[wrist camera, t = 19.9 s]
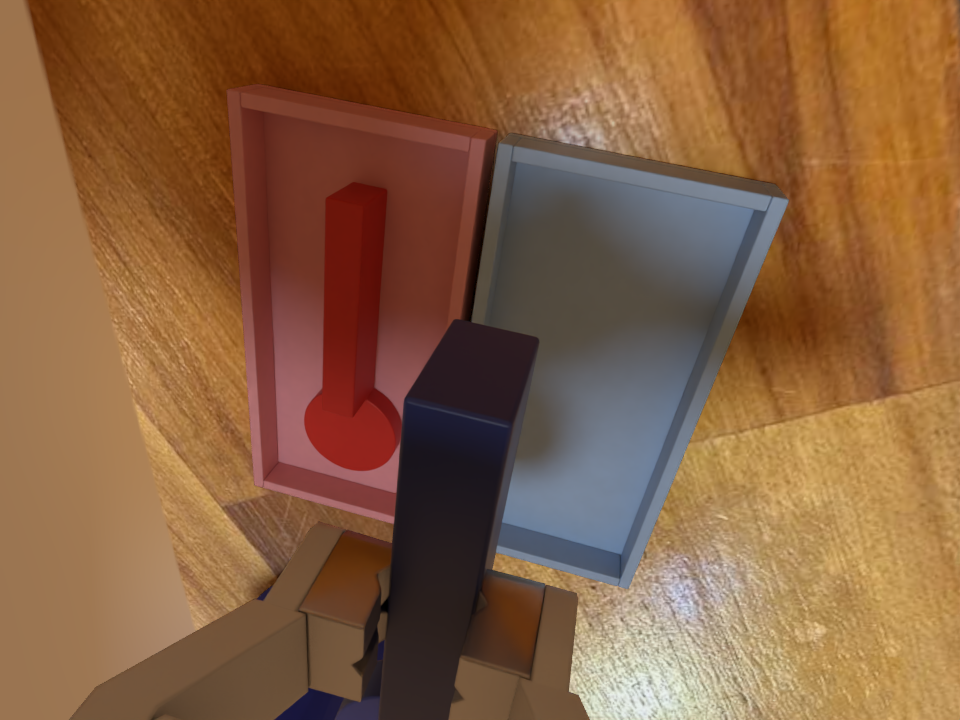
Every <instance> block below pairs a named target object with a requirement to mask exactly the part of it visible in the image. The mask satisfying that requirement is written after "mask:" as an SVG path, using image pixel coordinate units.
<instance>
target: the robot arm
mask: <svg viewBox="0 0 960 720" xmlns="http://www.w3.org/2000/svg"><path fill="white" fill-rule="evenodd" d="M391 553H392V543H389V542H386V541H383V540H379V539H376V538H373V537H369V536H366V535H363V534H360V533H356V532H353V531H350V530H346V529H342V528H339V527H335V526H332V525H329V524H325V523H322V522H318V523H316V524H315V525H314V526H313V527H312V528H310V530H309V531H308V533H307V534H306V536H305V538H304V539H303V541H302V542H301V544H300V545H299V547H298V548H297V550H296V551H295V553H294V554H293V556H292V557H291V559H290V561H289V562H288V564H287V565H286V567H285V568H284V570H283V571H282V573H281V574H280V576H279V577H278V579H277V580H276V582H275V584H274V585H273V587H272V588H271V590H270V591H269V593H268V594H267V596H266V597H265V599H264V600H263V601H261V600H258V599H253V600H251V601H249V602H248V603H246V604H244V605H242V606H240V607H239V608H237V609H235V610H233V611H231V612H230V613H228V614H226V615H224V616H222V617H221V618H219V619H217V620H215V621H214V622H212V623H210V624H208V625H206V626H205V627H203V628H201V629H199V630H197V631H196V632H194V633H192V634H190V635H188V636H187V637H185V638H183V639H181V640H179V641H178V642H176V643H174V644H172V645H171V646H169V647H167V648H165V649H164V650H162V651H160V652H158V653H156V654H154V655H152V656H151V657H149V658H147V659H145V660H144V661H142V662H140V663H138V664H136V665H135V666H133V667H131V668H129V669H127V670H126V671H124V672H122V673H120V674H118V675H117V676H115V677H113V678H111V679H109V680H108V681H106V682H104V683H102V684H100V685H99V686H97V687H95V689H94V690H93V691H92V692H91V693H90V695H89V696H88V697H87V698H86V700H85V701H84V702H83V703H82V704H81V706H80V707H79V708H78V709H77V711H76V712H75V713H74V714H73V715H72V717H71V718H70V719H69V720H274V719H276V718H277V717H278V716H279V715H280V714H282V713H283V712H284V711H285V710H286V709H288V708H289V707H290V706H291V705H293V704H294V703H295V702H296V701H297V700H299V699H300V698H301V697H302V696H304V695H305V694H306V693H307V692H308V688H311V689H315V690H318V691H322V692H325V693H329V694H333V695H336V696H340V697H343V698H347V699H350V700H354V701H357V702H361V700H362V698H363V695H364V693H365V691H366V688H367V686H368V683H369V681H370V678H371V676H372V674H373V671H374V669H375V666H376V664H377V656H378V644H379V643H380V642H382V641H383V640H385V639H386V632H387V620H388V611H387V603H388V597H389V595H390V581H391ZM577 606H578V597H577V593H574V592H571V591H567V590H563V589H560V588H556V587H552V586H549V585H546V586H545V584H544V583H540V582H536V581H532V580H529V579H525V578H521V577H517V576H513V575H509V574H506V573H502V572H498V571H494V570H490V569H487V571H486V573H485V577H484V580H483V584H482V587H481V589H480V590H479V593H478V598H477V603H476V608H475V613H474V614H473V615H472V616H471V619H470V622H469V626H468V630H467V633H466V637H465V641H464V644H463V648H462V651H461V655H460V659H459V664H458V670H457V675H456V680H455V685H454V686H455V691H454V695H453V699H452V703H451V707H450V714H449V720H590V719H589V717H588V715H587V713H586V710H585V708H584V706H583V704H582V702H581V700H580V697H579V695H576V694H573V693H571V692H569V683H570V674H571V664H572V654H573V645H574V635H575V625H576V616H577Z"/></svg>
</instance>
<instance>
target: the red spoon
mask: <svg viewBox="0 0 960 720" xmlns="http://www.w3.org/2000/svg"><path fill="white" fill-rule="evenodd" d="M386 206H387V189H384V188H379V187H375V186H370V185H366V184H361V183H357V182H352V183H350V184H349V185H347V186H345V187H343V188H342V189H340V190H338V191H337V192H335V193H333V194H331V195H330V196H328V197H326V199H325V256H324V317H323V378H322V389H321V390H320V391H319V392H318V393H317V394H316V396H315V397H314V398H313V399H312V400H311V402H310V403H309V404H308V406H307V408H306V411H305V415H304V426H305V431H306V434H307V436H308V438H309V440H310V442H311V443H312V445H313V446H314V447H315V449H316V450H317V451H318V452H319V453H320V454H321V455H322V456H323V457H325V458H326V459H327V460H329V461H330V462H332V463H334V464H336V465H338V466H340V467H343V468H346V469H349V470H354V471H369V470H374V469H377V468H379V467H381V466H383V465H384V464H385V463H387V462H388V461H389V460H390V458H391V457H392V455H393V454H394V452H395V450H396V448H397V446H398V445H399V443H400V440H401V428H402V423H401V419H400V416H399V414H398V412H397V410H396V408H395V407H394V405H393V404H392V402H391V401H390V400H389V399H388V398H387V397H386V396H385V395H384V394H382V393H381V392H380V391H378V390H377V389H375V388H374V377H375V362H376V348H377V334H378V320H379V305H380V291H381V277H382V263H383V248H384V234H385V220H386Z"/></svg>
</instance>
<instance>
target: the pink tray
mask: <svg viewBox="0 0 960 720" xmlns="http://www.w3.org/2000/svg"><path fill="white" fill-rule="evenodd" d="M227 102H228V116H229V130H230V145H231V159H232V173H233V187H234V201H235V216H236V230H237V244H238V258H239V272H240V287H241V301H242V315H243V329H244V343H245V358H246V372H247V386H248V400H249V414H250V429H251V443H252V457H253V471H254V485H255V486H259V487H262V488H263V487H264V488H266V489H270V490H273V491H277V492H280V493H284V494H288V495H291V496H295V497H298V498H302V499H306V500H309V501H313V502H316V503H320V504H323V505H327V506H331V507H334V508H338V509H341V510H345V511H349V512H352V513H356V514H359V515H363V516H367V517H370V518H374V519H377V520H381V521H385V522H388V523H392V524H394V516H395V503H396V491H397V478H398V466H399V453H400V443H399V445H398V446H397V448H396V450H395V452H394V454H393V455H392V457H391V458H390V460H389V461H388V462H387V463H385V464H384V465H383V466H381V467H379V468H377V469H374V470H369V471H354V470H349V469H346V468H343V467H340V466H338V465H336V464H334V463H332V462H330V461H329V460H327V459H326V458H325V457H323V456H322V455H321V454H320V453H319V452H318V451H317V450H316V449H315V447H314V446H313V445H312V443H311V442H310V440H309V438H308V436H307V434H306V431H305V426H304V415H305V411H306V408H307V406H308V404H309V403H310V402H311V400H312V399H313V398H314V397H315V396H316V394H317V393H318V392H319V391H320V390H321V389H322V378H323V317H324V256H325V199H326V197H328V196H330V195H331V194H333V193H335V192H337V191H338V190H340V189H342V188H343V187H345V186H347V185H349V184H350V183H352V182H357V183H361V184H366V185H370V186H375V187H379V188H384V189H387V206H386V220H385V234H384V248H383V263H382V277H381V291H380V305H379V320H378V334H377V348H376V362H375V377H374V388H375V389H377V390H378V391H380V392H381V393H382V394H384V395H385V396H386V397H387V398H388V399H389V400H390V401H391V402H392V404H393V405H394V407H395V408H396V410H397V412H398V414H399V416H400V419H401V423H402V416H403V403H404V398H405V397H406V395H407V393H408V392H409V390H410V389H411V387H412V385H413V384H414V382H415V381H416V379H417V377H418V376H419V374H420V373H421V371H422V369H423V368H424V366H425V365H426V363H427V361H428V360H429V358H430V357H431V355H432V353H433V352H434V350H435V349H436V347H437V345H438V344H439V342H440V340H441V339H442V337H443V336H444V334H445V332H446V331H447V329H448V328H449V326H450V324H451V323H452V321H453V320H454V319H460V320H464V321H469V319H470V312H471V306H472V299H473V292H474V286H475V279H476V272H477V266H478V259H479V252H480V246H481V239H482V232H483V226H484V219H485V212H486V206H487V199H488V192H489V186H490V179H491V172H492V166H493V159H494V153H495V146H496V139H497V133H498V132H497V130H494V129H488V128H483V127H478V126H473V125H468V124H463V123H457V122H452V121H447V120H442V119H437V118H432V117H427V116H421V115H416V114H411V113H406V112H401V111H396V110H390V109H385V108H380V107H375V106H370V105H365V104H360V103H354V102H349V101H344V100H339V99H334V98H329V97H323V96H318V95H313V94H308V93H303V92H298V91H293V90H287V89H282V88H277V87H272V86H267V85H262V84H254V85H249V86H243V87H237V88H232V89H227ZM400 441H401V440H400Z"/></svg>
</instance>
